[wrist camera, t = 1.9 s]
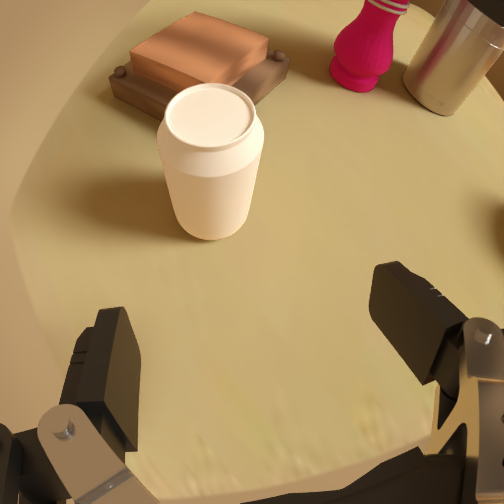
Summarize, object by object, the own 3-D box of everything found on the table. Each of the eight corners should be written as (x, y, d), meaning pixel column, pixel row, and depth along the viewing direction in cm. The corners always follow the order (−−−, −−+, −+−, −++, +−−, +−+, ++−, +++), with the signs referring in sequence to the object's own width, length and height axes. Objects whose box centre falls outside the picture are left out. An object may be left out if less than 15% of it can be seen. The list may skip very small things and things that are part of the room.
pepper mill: (367, 104, 34) (437, -31, 15) (316, 75, 34) (363, -66, 16) (384, 79, 36) (444, -36, 17) (337, 53, 37) (382, -66, 18)
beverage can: (224, 168, 29) (230, 64, 17) (262, 221, 27) (291, 129, 16) (163, 199, 27) (135, 100, 16) (197, 257, 26) (183, 177, 14)
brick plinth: (194, 38, 35) (193, 2, 29) (285, 77, 34) (295, 38, 28) (114, 96, 31) (102, 56, 25) (210, 149, 29) (210, 105, 23)
